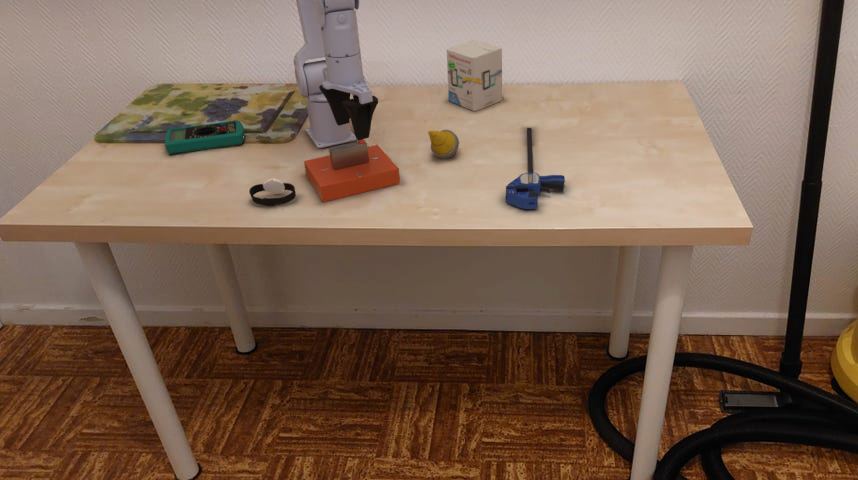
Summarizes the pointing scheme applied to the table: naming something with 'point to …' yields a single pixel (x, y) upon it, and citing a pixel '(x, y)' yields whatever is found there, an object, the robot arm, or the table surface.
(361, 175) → the orange block
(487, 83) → the ink box
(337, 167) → the grey block with button
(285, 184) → the watch
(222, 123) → the digital multimeter
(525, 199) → the bar clamp
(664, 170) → the table surface
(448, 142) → the yellow pointed rounded piece
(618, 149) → the table surface
